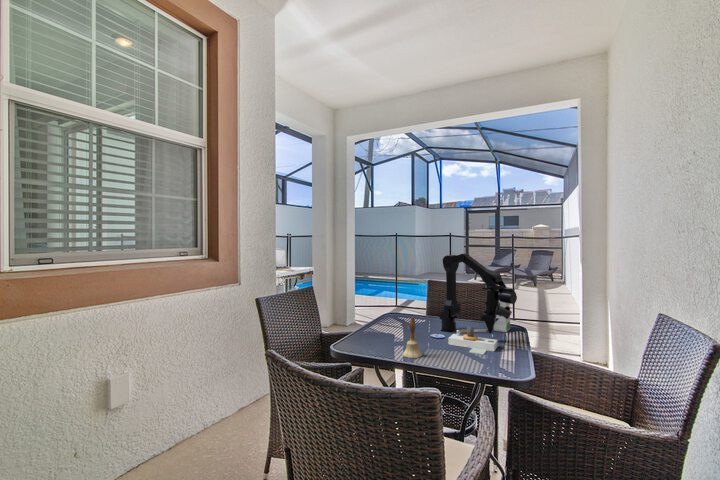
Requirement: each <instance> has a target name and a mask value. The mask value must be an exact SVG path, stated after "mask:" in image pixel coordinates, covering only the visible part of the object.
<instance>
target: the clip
mask: <svg viewBox="0 0 720 480" xmlns="http://www.w3.org/2000/svg"><path fill="white" fill-rule="evenodd" d="M457 333H461V334H462V333H467V329H456V334H457ZM474 333H489V331H488V328H476V329H475V328H474Z"/></svg>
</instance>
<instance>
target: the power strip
mask: <svg viewBox="0 0 720 480" xmlns="http://www.w3.org/2000/svg"><path fill="white" fill-rule="evenodd" d="M463 335H464V334H462V332H461V333H457V332H456V333H452V334H451V335H450V336H449V337H448V345H451V346H458V347H464V348H471V349H472V348H477V349H484V350H487V351H488V352H495V351H496V349H497V348H498V339H494V338H492V339H491V338H485V337H479V336H478V339H476V340H475V341H471V340H466V339H464V338H463Z"/></svg>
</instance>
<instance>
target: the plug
mask: <svg viewBox="0 0 720 480" xmlns="http://www.w3.org/2000/svg"><path fill="white" fill-rule="evenodd" d="M474 329H475V328H474V327H472V326H468V327H466V330H467V332H466V333H465V334H462V335H463V338H464V339H466V340H471V341H475V340H476V339H478V337H479V336H478V335H476V334H475V332H474Z"/></svg>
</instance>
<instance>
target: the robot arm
mask: <svg viewBox="0 0 720 480" xmlns="http://www.w3.org/2000/svg"><path fill="white" fill-rule="evenodd" d="M460 263H463V264H464V265H466V266H467V267H468V268H469V269H471V270H472V271H473V272H474V273H475V274H477V275H478V276H479V277H480V279H481V280H482V282H484V284H485V285H484V286H483V287H481V289H482V290H486V294H485V302H484V305H485V310H484V311H483V313H482V314H481V315H480V317H479V320H480V321H483V322H484V324H485V325H486V329H488V331H489V332H488V333H489V334H492V333H493V331H494V324H495V322H496V321H497V320H499V318H496V315H499V316H500V317H501V316H503V317H505V318H506V319H508V318H509V317H510V318H511V315H512V313H513V311H512V310H511V307H508V306H507V307H505V308H504V307H501V306H500V303H499V300H500V302H504V303H509V304H510V305H514V304H516V302H517V299H518V295H517V292H516V291H515V288H508V287H507V285H506V284H505V282H504V281H503V279H502V274H500V273H498V272H496V271H494V270H491V269H488V268H487V267H486V266H485V265H483V264H482V263H480V262H478V261H477V260H476V259H474V258H473V257H472V256H470V254H469V253H460V254H450V255H449V254H448V255H445V256H443V258H442V266H443V270H444V271H445V272H446V273H445V274H446V275H445V277H446V278H445V280H446V281H445V283H446V284H445V285H446V286H445V288H446V291H445V292H446V294H445V295H446V300H445V302H444V304H443V308H442V309H443V310H442V312H441V313H439V315H438V317H439V319H440V320H441V329H440V331H441V332H446V333H447V332H448V333H454V332H455V331H457V322H456V319H457V318H458V315H460V313H461V310H462V309H461V302H458V300H457V271H458V269H459V265H460Z"/></svg>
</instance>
